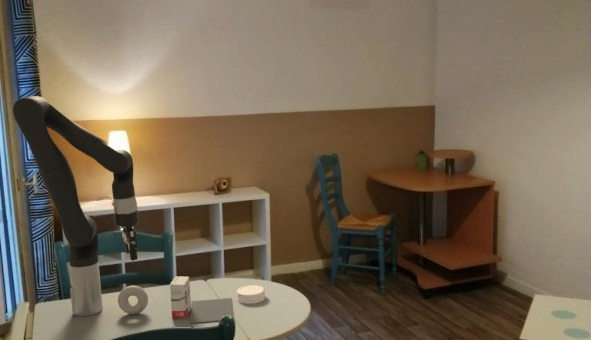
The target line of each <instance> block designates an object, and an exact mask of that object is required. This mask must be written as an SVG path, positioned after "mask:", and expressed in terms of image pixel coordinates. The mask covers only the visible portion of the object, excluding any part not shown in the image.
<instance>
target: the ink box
mask: <svg viewBox="0 0 591 340" xmlns="http://www.w3.org/2000/svg"><path fill="white" fill-rule="evenodd" d="M190 284H191V283H190V276H180V275H178V276H174V278H173V279H172V281H171V282H170V284H169V287H170V301H171V303H170V305H171V319H186V318H187V317H188V315H189V314H190V312H191V302H192V300H191V289H190V288H191V285H190Z"/></svg>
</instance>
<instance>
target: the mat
mask: <svg viewBox="0 0 591 340" xmlns="http://www.w3.org/2000/svg"><path fill="white" fill-rule="evenodd" d="M226 315H231V316H233V317H234V310H233V302H232V297H229V298H228V297H227V298H217V299H216V298H214V299H204V300H203V299H202V300H191V309H190V317H189V324H190V325H192V324H205V323H214V322H220V321H219V320H220V319H221V318H222V317H223V316H226Z"/></svg>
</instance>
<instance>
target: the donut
mask: <svg viewBox="0 0 591 340" xmlns="http://www.w3.org/2000/svg"><path fill="white" fill-rule="evenodd" d="M131 296H134V297H135V298H136V299H137V302H136V303H133V304H132V303H131V302H130V301H129V298H130V297H131ZM117 303H118V306H119V308H120V309H121V310H122V311H123V312H124V313H126V314H128V315H138V314H140V313H143V311H144V310H146V308H147V306H148V303H149V295H148V294H147V292H146V291H145V289H144V288H143V287H140V286H139V285H127V286H126V287H124V288H123V289H121V291H119V294H118V297H117Z"/></svg>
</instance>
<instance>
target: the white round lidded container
mask: <svg viewBox="0 0 591 340" xmlns="http://www.w3.org/2000/svg"><path fill="white" fill-rule="evenodd" d="M265 292H266V290H265V288H264V287H262V286H261V285H253V284H252V285H244V286H241V287H239V288H238V289H237V290H236V299H237V301H238V302H239V303H241V304H245V305H248V304H249V305H253V304H255V305H256V304H260V303H261V302H263V301H264V300H265V299H266V293H265Z"/></svg>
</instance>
